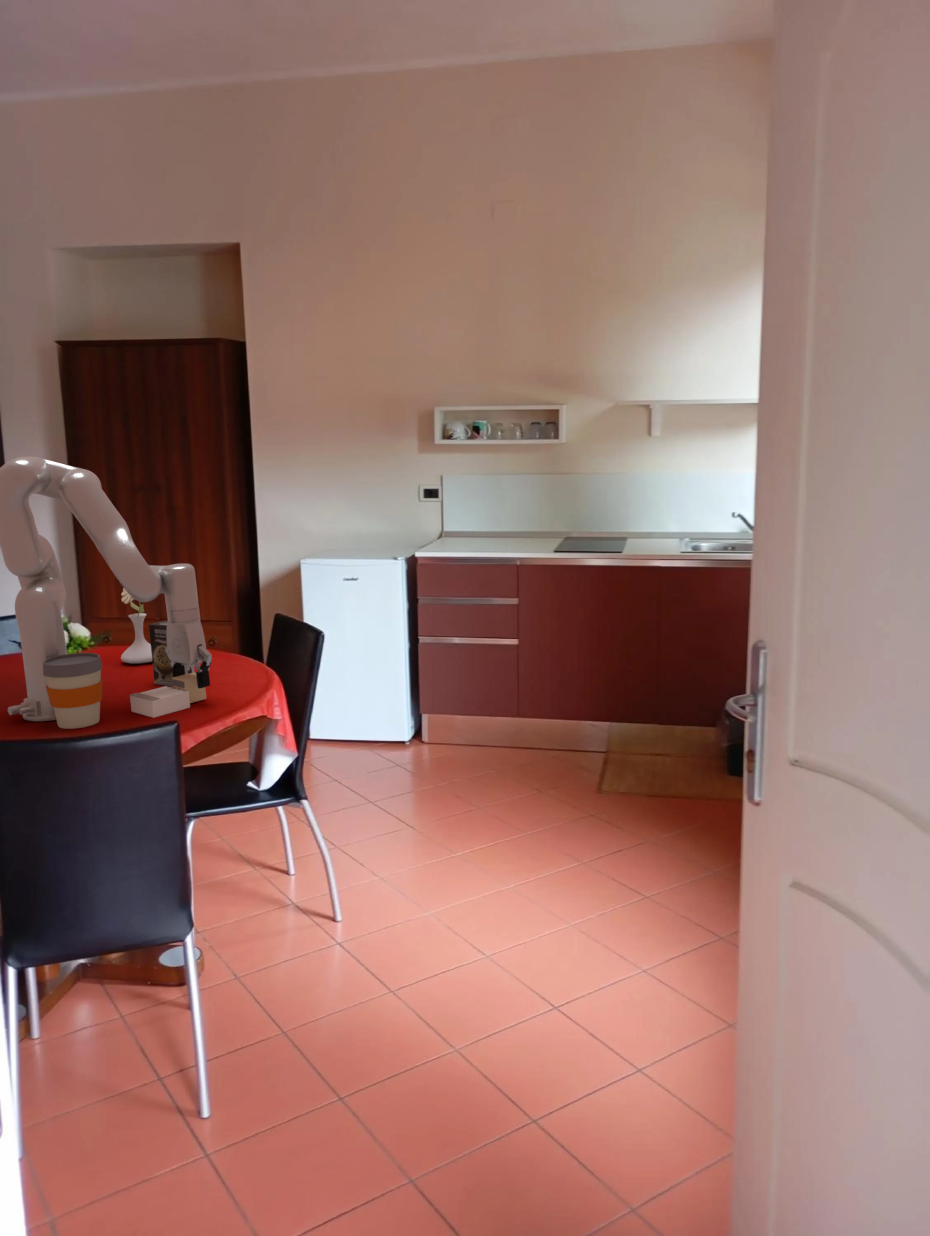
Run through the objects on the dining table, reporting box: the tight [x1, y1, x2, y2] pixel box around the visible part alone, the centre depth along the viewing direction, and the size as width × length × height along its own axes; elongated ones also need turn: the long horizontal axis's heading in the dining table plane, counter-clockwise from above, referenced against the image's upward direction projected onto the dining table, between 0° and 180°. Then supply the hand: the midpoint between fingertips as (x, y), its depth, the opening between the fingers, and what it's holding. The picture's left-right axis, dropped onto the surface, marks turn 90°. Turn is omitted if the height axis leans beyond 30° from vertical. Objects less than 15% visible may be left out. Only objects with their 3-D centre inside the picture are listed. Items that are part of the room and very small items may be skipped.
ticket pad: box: [129, 685, 191, 719], centre depth 234 cm, size 10×9×4 cm
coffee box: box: [148, 619, 196, 687], centre depth 258 cm, size 9×6×16 cm
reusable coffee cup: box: [43, 652, 103, 730], centre depth 225 cm, size 13×13×15 cm
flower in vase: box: [120, 587, 152, 665], centre depth 282 cm, size 13×11×25 cm
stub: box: [172, 672, 207, 704], centre depth 240 cm, size 6×4×6 cm
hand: (191, 684), depth 240 cm, fingers open, 9 cm apart
